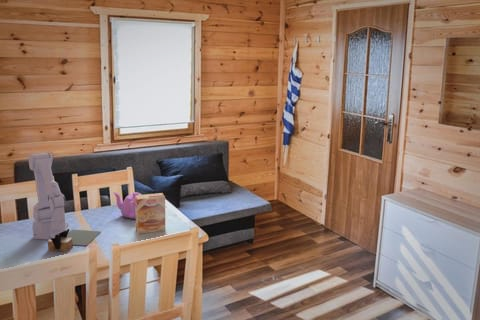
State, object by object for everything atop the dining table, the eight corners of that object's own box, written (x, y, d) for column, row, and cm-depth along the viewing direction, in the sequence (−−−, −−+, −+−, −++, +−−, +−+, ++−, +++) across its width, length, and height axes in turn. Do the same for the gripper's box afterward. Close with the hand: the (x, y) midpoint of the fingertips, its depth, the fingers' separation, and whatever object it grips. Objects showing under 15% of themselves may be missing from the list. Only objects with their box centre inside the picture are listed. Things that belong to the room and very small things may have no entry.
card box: (48, 250, 226) (47, 241, 225) (53, 246, 231) (52, 236, 230) (68, 251, 225) (67, 242, 224) (72, 247, 230) (72, 237, 229)
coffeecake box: (137, 234, 248) (136, 199, 243) (135, 229, 254) (134, 195, 249) (165, 230, 253) (165, 196, 249) (162, 226, 260) (162, 192, 255)
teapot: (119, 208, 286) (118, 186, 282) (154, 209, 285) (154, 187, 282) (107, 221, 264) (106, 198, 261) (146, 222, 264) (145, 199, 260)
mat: (55, 244, 233) (55, 243, 233) (72, 230, 251) (71, 229, 251) (86, 246, 232) (86, 245, 232) (100, 232, 249) (100, 231, 249)
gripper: (59, 226, 217) (61, 253, 220) (73, 215, 231) (75, 240, 234) (44, 225, 218) (47, 252, 221) (59, 214, 232) (61, 239, 235)
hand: (60, 246), depth 228 cm, fingers closed on card box, 5 cm apart
